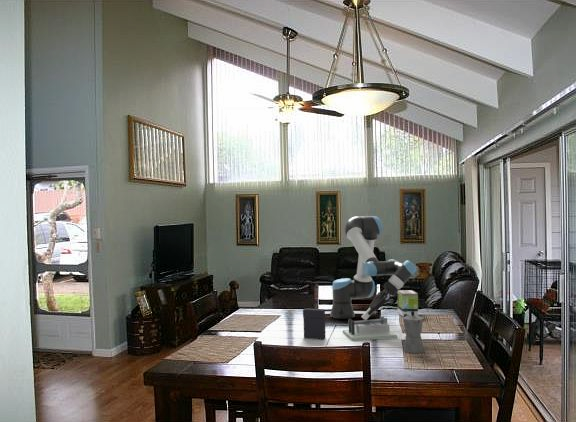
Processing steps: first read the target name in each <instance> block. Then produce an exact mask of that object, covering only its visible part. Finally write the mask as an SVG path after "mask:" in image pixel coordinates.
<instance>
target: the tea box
mask: <svg viewBox="0 0 576 422" xmlns="http://www.w3.org/2000/svg"><path fill="white" fill-rule="evenodd" d="M396 294H397V295H396V296H397V297H396V298H397V313H398V314H399V315H400V316H401V317H402V318H403V317H404V315H405V314H407V315H410V316H411V312H412V311H413V312H414V316H419V293H418V292H416V291H415V290H412V289H411V290H410V289H409V290H407V289H405V290H404V289H403V290H401V289H398V292H397V293H396Z"/></svg>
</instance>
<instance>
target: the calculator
mask: <svg viewBox="0 0 576 422" xmlns="http://www.w3.org/2000/svg"><path fill="white" fill-rule="evenodd" d="M302 319H303V338H304V339H312V340H322V341H323V340H325V339H326V337H327V336H326V310H325V309H323V308H303V310H302Z"/></svg>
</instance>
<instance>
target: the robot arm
mask: <svg viewBox="0 0 576 422" xmlns="http://www.w3.org/2000/svg"><path fill="white" fill-rule="evenodd" d="M344 225H345V226H344V234H345V236H346V238H347V239H348V240H350V241H351V243H352V245H353V247H354V248H355V250H356V252H357V253H358V258H357V259H358V260H357V261H358V262H357V267H356V274H355V275H354V276H353V280H352V279H351V278H349V277H348V278H347V277H345V278H344V277H343V278H340V279H339V278H338V279H336V280H333V281H332V288H331V289H332V307H331V311H330V318H332V317H333V318H332V319H344V320H345V319H346V320H347V319H352V318H355V317H356V316H355V311H354V309H353V305H352V300H357V299H368V298H372V297H373V296H374V293H375V291H376V286H375V281H374V280H373V278H372V277H375V276H376V277H377V276H390V278H388V281H386V282H385V283H384V285H383V288H384V289H382V291H378V292H377V294H376V296H375V297H374V299H373V300H372V301H371V303H370V304H369V305H368V307H369V308H368V309H366V311H365V312H364V313H363V314H362V315H361V318H362V320H369V318H370V317H371V316H372V314H374V312H378V311H379V309H381V308H382V307H383V306H384V305H385V304H386V303H387V302H388V301H390V300H391V298H390V296H395V295H396V294H397V292H398V290H401V288H403V287H404V285H405V284H406V283H407V281H409V279H410V278H412V277H413V276H414V274H415V272H416V271H417V269H418V268H417V266H416V265H415V264H414V262H411V261H410V260H405V261H404V262H402V261H399V260H397V259H393V258H390V259H388V260H387V261H386V260H384V261H379V259H378V258H377V256H376V254H375V253H374V251H375V250H374V248H375V242H376V241H377V240H378V236H380V235H382V234H383V223H382V221H381V219H380V218H379V217H378V216H374V215H373V216H372V215H365V216H364V215H363V216H358V215H357V216H353V217H351V218H349V219H348V220H347V221H346V223H345V224H344Z"/></svg>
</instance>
